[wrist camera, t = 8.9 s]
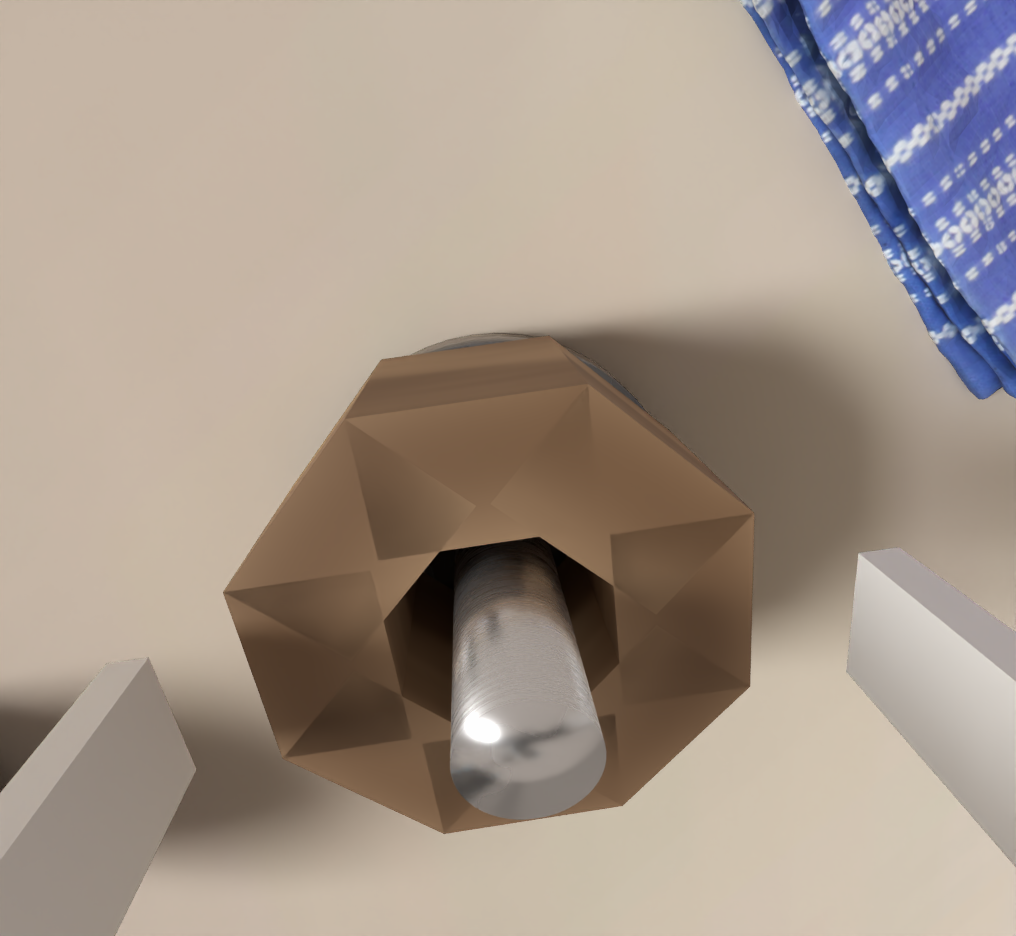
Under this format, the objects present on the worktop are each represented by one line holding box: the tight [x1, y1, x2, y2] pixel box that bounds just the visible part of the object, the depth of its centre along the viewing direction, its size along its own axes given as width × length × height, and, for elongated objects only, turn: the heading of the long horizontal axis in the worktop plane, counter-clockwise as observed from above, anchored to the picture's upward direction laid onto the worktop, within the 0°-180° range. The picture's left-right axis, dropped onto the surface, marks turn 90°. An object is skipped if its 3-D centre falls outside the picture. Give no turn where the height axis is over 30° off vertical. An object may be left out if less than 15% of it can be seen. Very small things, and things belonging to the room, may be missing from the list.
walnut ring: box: [223, 336, 754, 834], centre depth 14 cm, size 10×10×5 cm
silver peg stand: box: [412, 333, 647, 820], centre depth 14 cm, size 10×10×10 cm
